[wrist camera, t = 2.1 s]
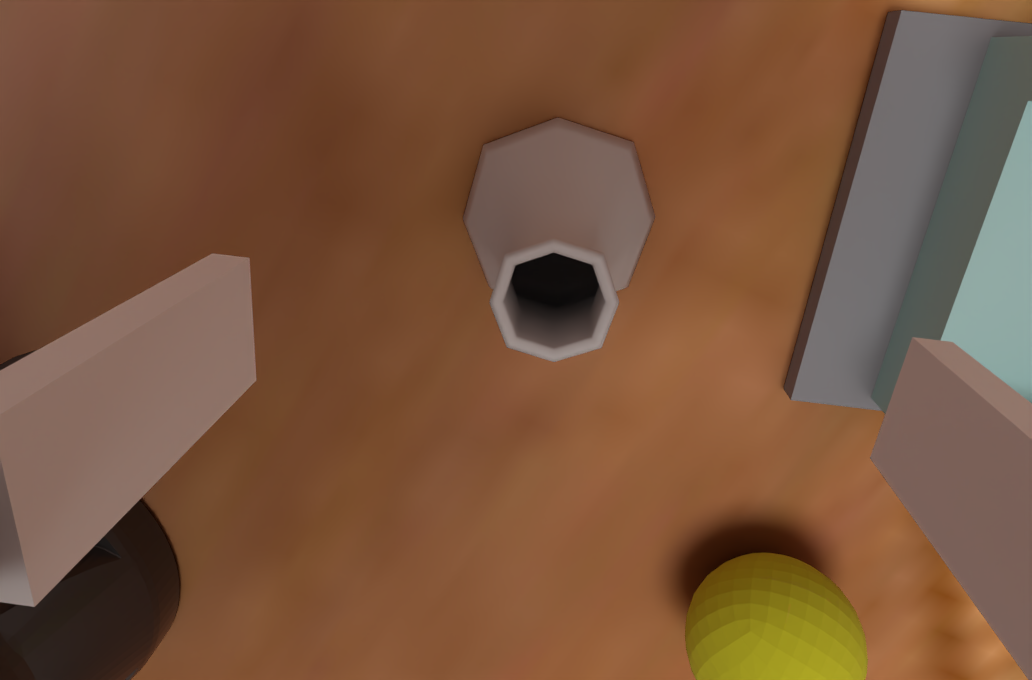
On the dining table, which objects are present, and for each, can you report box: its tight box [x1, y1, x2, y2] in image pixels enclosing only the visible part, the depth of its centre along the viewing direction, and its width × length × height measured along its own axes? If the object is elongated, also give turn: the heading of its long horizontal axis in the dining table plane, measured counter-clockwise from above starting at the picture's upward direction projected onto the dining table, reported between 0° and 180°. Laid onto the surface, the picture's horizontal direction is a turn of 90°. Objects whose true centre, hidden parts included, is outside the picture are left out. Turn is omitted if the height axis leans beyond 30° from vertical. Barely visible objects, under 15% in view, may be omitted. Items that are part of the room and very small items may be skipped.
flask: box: [463, 117, 655, 362], centre depth 22 cm, size 7×7×10 cm
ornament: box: [685, 553, 868, 680], centre depth 28 cm, size 7×7×10 cm
